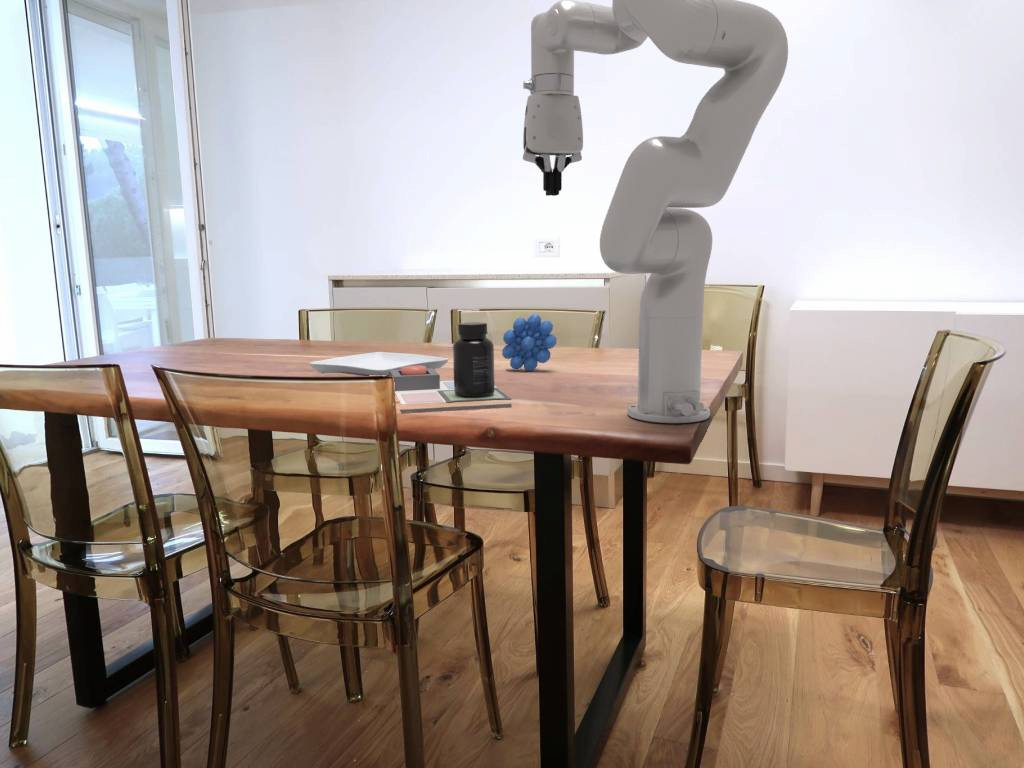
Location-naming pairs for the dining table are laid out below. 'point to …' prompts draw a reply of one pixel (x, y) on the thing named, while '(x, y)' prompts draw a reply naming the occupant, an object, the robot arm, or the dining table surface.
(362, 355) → the salad plate
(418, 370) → the button
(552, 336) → the grapes
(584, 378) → the dining table surface
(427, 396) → the printed board
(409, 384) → the button housing
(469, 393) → the supplement bottle
